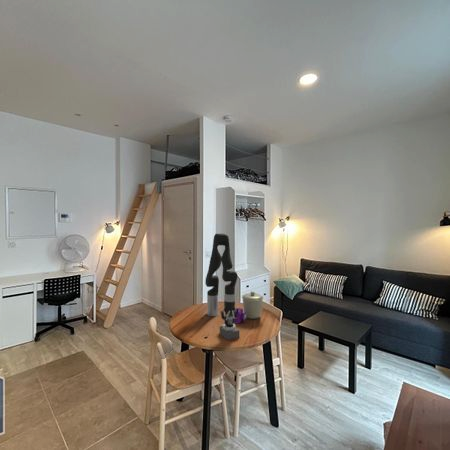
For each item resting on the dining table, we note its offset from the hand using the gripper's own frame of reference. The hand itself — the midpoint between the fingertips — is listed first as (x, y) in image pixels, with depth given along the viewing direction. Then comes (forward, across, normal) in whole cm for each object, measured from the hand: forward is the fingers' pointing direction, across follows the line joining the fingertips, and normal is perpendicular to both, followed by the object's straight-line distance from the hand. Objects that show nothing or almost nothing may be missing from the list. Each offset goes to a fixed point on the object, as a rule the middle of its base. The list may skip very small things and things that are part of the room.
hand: (229, 324), depth 168 cm
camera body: (+8, 0, 0) cm, 8 cm away
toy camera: (+8, -18, -18) cm, 27 cm away
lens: (+2, 0, 0) cm, 2 cm away
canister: (+8, -34, -21) cm, 41 cm away
